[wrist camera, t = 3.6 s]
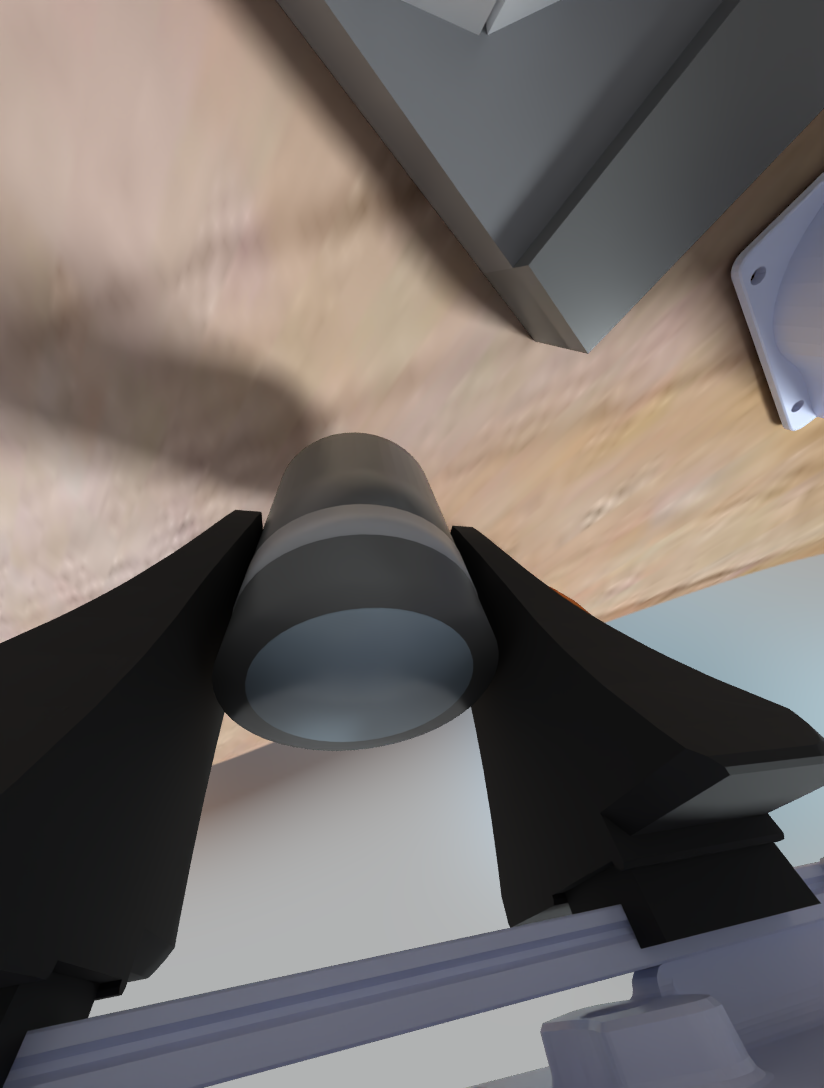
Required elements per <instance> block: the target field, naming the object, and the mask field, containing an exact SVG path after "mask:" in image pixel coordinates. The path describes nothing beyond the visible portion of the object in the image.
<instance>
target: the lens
mask: <svg viewBox="0 0 824 1088" xmlns="http://www.w3.org/2000/svg"><path fill="white" fill-rule="evenodd" d="M498 657H499V650H498V645H497V640H496V638H495V635H494V633H493V631H492V628H491V626H490V624H489V621H488V619H487V617H486V615H485V612H484V610H483V608H482V605H481V603H480V601H479V598H478V594H477V591H476V589H475V587H474V584H473V582H472V580H471V577H470V575H469V573H468V570H467V568H466V566H465V564H464V561H463V559H462V557H461V554H460V552H459V551H458V549H457V547H456V545H455V543H454V540H453V538H452V536H451V534H450V531H449V529H448V527H447V524H446V522H445V520H444V517H443V515H442V513H441V510H440V508H439V506H438V503H437V501H436V499H435V497H434V494H433V492H432V490H431V487H430V485H429V483H428V480H427V478H426V476H425V473H424V471H423V470H422V468H421V467H420V465H419V464H418V462H417V461H416V460H415V459H414V458H413V456H411V455H410V454H409V453H408V452H407V451H406V450H405V449H403V448H402V447H400V446H399V445H397V444H395V443H393V442H392V441H390V440H388V439H385V438H382V437H379V436H376V435H371V434H366V433H342V434H336V435H332V436H328V437H325V438H322V439H320V440H318V441H316V442H314V443H312V444H310V445H309V446H307V447H306V448H304V449H303V450H302V451H301V452H300V453H299V454H297V455H296V456H295V457H294V459H293V460H292V461H291V462H290V464H289V465H288V467H287V469H286V470H285V472H284V474H283V477H282V479H281V482H280V485H279V488H278V490H277V493H276V496H275V498H274V501H273V504H272V507H271V509H270V512H269V515H268V518H267V520H266V523H265V526H264V529H263V531H262V534H261V537H260V540H259V542H258V545H257V548H256V551H255V553H254V556H253V558H252V560H251V562H250V564H249V567H248V570H247V572H246V575H245V578H244V580H243V583H242V586H241V588H240V591H239V594H238V597H237V599H236V602H235V605H234V607H233V613H232V616H231V619H230V622H229V625H228V627H227V630H226V633H225V636H224V638H223V641H222V644H221V647H220V649H219V652H218V655H217V658H216V660H215V663H214V666H213V673H212V684H213V691H214V693H215V696H216V699H217V701H218V703H219V704H220V706H221V707H222V709H223V711H224V712H225V713H226V714H227V715H228V716H229V717H230V718H231V719H232V720H233V721H235V722H236V723H237V724H239V725H240V726H241V727H243V728H244V729H246V730H248V731H250V732H251V733H253V734H255V735H257V736H260V737H262V738H264V739H267V740H270V741H273V742H276V743H279V744H283V745H288V746H292V747H297V748H305V749H312V750H328V751H330V750H331V751H342V750H358V749H367V748H373V747H380V746H385V745H389V744H394V743H398V742H401V741H405V740H408V739H411V738H414V737H417V736H419V735H422V734H425V733H427V732H430V731H432V730H434V729H436V728H438V727H440V726H442V725H443V724H446V723H448V722H449V721H451V720H453V719H454V718H456V717H457V716H459V715H460V714H462V713H463V712H464V711H465V710H467V709H468V708H469V707H470V706H472V705H473V704H474V703H475V702H476V701H477V700H478V699H479V698H480V697H481V695H482V694H483V693H484V692H485V691H486V689H487V688H488V686H489V685H490V683H491V681H492V679H493V677H494V675H495V673H496V669H497V665H498Z"/></svg>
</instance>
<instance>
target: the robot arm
mask: <svg viewBox="0 0 824 1088" xmlns="http://www.w3.org/2000/svg"><path fill="white" fill-rule="evenodd" d="M754 272H755V275H754V278H753V279H752V281H751V277H752V275H753V273H754ZM731 278H732V281H733V284H734V287H735V290H736V293H737V296H738V299H739V301H740V304H741V307H742V310H743V313H744V316H745V319H746V322H747V324H748V327H749V330H750V333H751V336H752V339H753V342H754V345H755V348H756V350H757V353H758V356H759V359H760V362H761V365H762V368H763V371H764V373H765V376H766V379H767V382H768V385H769V388H770V391H771V394H772V396H773V399H774V402H775V405H776V408H777V411H778V414H779V417H780V419H781V422H782V425H783V427H784V428H785V429H788V430H792V431H795V430H798V429H800V428H802V427H804V426H805V425H806V424H808V423H809V422H810V421H812V420H813V419H814V418H816V417H821V418H824V172H823V173H822V174H821V175H820V176H819V177H818V178H817V179H816V180H815V181H814V182H813V183H812V184H811V185H810V186H809V187H808V188H807V189H806V190H805V191H804V192H803V193H802V194H800V195H799V196H798V197H797V198H796V199H795V200H794V201H793V202H792V203H791V204H790V205H789V206H788V207H787V208H786V209H785V210H784V211H783V212H782V213H781V214H780V215H779V216H778V217H777V218H776V219H775V220H774V221H773V222H772V223H771V224H770V225H769V226H768V227H767V228H766V229H765V230H764V231H763V232H762V233H761V234H760V235H759V236H758V237H757V238H756V239H754V240H753V241H752V242H751V243H750V244H749V245H748V246H747V247H746V248H745V249H744V250H743V251H742V252H741V253H740V255H739V256H738V257H737V258H736V260H735V262H734V264H733V266H732V270H731ZM262 531H263V525H262V513H261V512H256V511H242V510H235V511H233V512H231V513H230V514H228V515H227V516H226V517H224V518H223V519H221V520H220V521H218V522H217V523H216V524H214V525H213V526H212V527H210V528H209V529H207V530H206V531H205V532H203V533H202V534H200V535H199V536H197V537H196V538H194V539H193V540H192V541H190V542H189V543H187V544H186V545H184V546H183V547H181V548H180V549H178V550H177V551H175V552H174V553H172V554H171V555H169V556H168V557H166V558H164V559H163V560H161V561H160V562H158V563H156V564H155V565H153V566H151V567H150V568H148V569H147V570H145V571H143V572H142V573H140V574H139V575H137V576H135V577H134V578H132V579H130V580H129V581H127V582H125V583H123V584H122V585H120V586H118V587H116V588H114V589H113V590H111V591H109V592H107V593H105V594H103V595H101V596H99V597H98V598H96V599H94V600H92V601H90V602H88V603H86V604H84V605H82V606H80V607H78V608H76V609H74V610H72V611H70V612H68V613H66V614H64V615H62V616H60V617H58V618H56V619H53V620H51V621H49V622H47V623H45V624H42V625H40V626H38V627H36V628H33V629H31V630H29V631H27V632H25V633H22V634H20V635H18V636H16V637H14V638H11V639H9V640H7V641H5V642H2V643H0V1088H204V1087H208V1086H212V1085H215V1084H219V1083H223V1082H227V1081H230V1080H233V1079H238V1078H241V1077H245V1076H248V1075H252V1074H256V1073H259V1072H264V1071H267V1070H271V1069H275V1068H278V1067H282V1066H286V1065H289V1064H293V1063H297V1062H301V1061H304V1060H307V1059H312V1058H315V1057H319V1056H323V1055H327V1054H330V1053H334V1052H337V1051H341V1050H345V1049H349V1048H352V1047H356V1046H360V1045H363V1044H367V1043H371V1042H375V1041H379V1040H382V1039H386V1038H390V1037H393V1036H397V1035H401V1034H405V1033H408V1032H412V1031H416V1030H419V1029H423V1028H427V1027H431V1026H434V1025H438V1024H441V1023H445V1022H449V1021H453V1020H456V1019H460V1018H464V1017H467V1016H471V1015H475V1014H479V1013H482V1012H486V1011H490V1010H494V1009H497V1008H501V1007H504V1006H508V1005H512V1004H516V1003H519V1002H523V1001H527V1000H531V999H534V998H538V997H541V996H545V995H549V994H553V993H556V992H560V991H564V990H568V989H571V988H575V987H579V986H583V985H586V984H590V983H594V982H597V981H601V980H605V979H609V978H612V977H616V976H620V975H623V974H627V973H631V972H634V971H635V972H634V975H633V979H632V986H633V996H632V997H631V999H630V1000H626V1001H619V1002H612V1003H606V1004H600V1005H595V1006H591V1007H587V1008H583V1009H579V1010H576V1011H572V1012H570V1013H567V1014H565V1015H562V1016H560V1017H557V1018H555V1019H552V1020H550V1021H547V1022H545V1023H543V1024H542V1028H541V1036H542V1040H543V1044H544V1048H545V1052H546V1055H547V1059H548V1063H549V1066H548V1067H545V1068H541V1069H537V1070H533V1071H529V1072H525V1073H521V1074H517V1075H513V1076H510V1077H506V1078H502V1079H498V1080H494V1081H490V1082H487V1083H482V1084H479V1085H475V1086H471V1087H467V1088H824V857H823V858H821V859H820V862H815V863H811V864H806V865H802V866H797V867H792V865H791V864H790V863H789V861H788V860H787V859H786V857H785V856H784V855H783V854H782V852H781V851H780V850H779V848H778V847H777V846H776V845H775V843H774V842H778V841H781V840H783V839H784V833H783V832H782V830H781V829H780V828H779V827H778V825H777V824H776V823H775V822H774V821H773V819H772V818H771V817H770V816H769V814H768V813H769V812H771V811H773V810H775V809H777V808H779V807H781V806H783V805H785V804H788V803H790V802H792V801H794V800H796V799H798V798H800V797H802V796H804V795H806V794H808V793H811V792H812V791H814V790H816V789H818V788H820V787H822V786H824V738H823V737H822V736H821V735H820V734H819V733H818V732H816V731H815V730H814V729H813V728H812V727H811V726H810V725H809V724H808V723H807V722H805V721H804V720H803V719H802V718H800V717H799V716H798V715H797V714H795V713H794V712H793V711H791V710H790V709H788V708H786V707H783V706H781V705H778V704H776V703H773V702H771V701H768V700H766V699H764V698H761V697H759V696H756V695H754V694H752V693H749V692H747V691H744V690H742V689H739V688H737V687H734V686H732V685H729V684H727V683H725V682H722V681H720V680H717V679H715V678H713V677H710V676H708V675H706V674H704V673H701V672H700V671H697V670H695V669H693V668H691V667H689V666H687V665H685V664H682V663H680V662H678V661H676V660H674V659H671V658H669V657H667V656H665V655H663V654H661V653H659V652H657V651H655V650H653V649H651V648H649V647H647V646H645V645H644V644H642V643H640V642H638V641H636V640H634V639H632V638H631V637H629V636H627V635H625V634H623V633H621V632H620V631H618V630H616V629H614V628H612V627H611V626H609V625H607V624H605V623H604V622H602V621H600V620H599V619H597V618H595V617H594V616H592V615H591V614H589V613H587V612H586V611H584V610H583V609H581V608H579V607H578V606H576V605H575V604H573V603H572V602H570V601H569V600H567V599H566V598H564V597H563V596H561V595H560V594H558V593H557V592H556V591H554V590H553V589H551V588H550V587H549V586H547V585H546V584H545V583H543V582H542V581H540V580H539V579H538V578H536V577H535V576H534V575H533V574H531V573H530V572H529V571H527V570H526V569H525V568H524V567H522V566H521V565H520V564H519V563H517V562H516V561H515V560H514V559H512V558H511V557H510V556H509V555H507V554H506V553H505V552H504V551H503V550H501V549H500V548H499V547H498V546H497V545H495V544H494V543H493V542H492V541H490V540H489V539H488V538H487V537H485V536H484V535H483V534H482V533H480V532H479V531H477V530H476V529H474V528H473V527H463V526H452V529H451V533H450V534H451V536H452V538H453V540H454V543H455V545H456V547H457V549H458V551H459V552H460V554H461V557H462V559H463V561H464V564H465V566H466V568H467V570H468V573H469V575H470V577H471V580H472V582H473V584H474V587H475V589H476V591H477V594H478V598H479V601H480V603H481V605H482V608H483V610H484V612H485V615H486V617H487V619H488V621H489V624H490V626H491V628H492V631H493V633H494V635H495V638H496V640H497V645H498V650H499V657H498V665H497V669H496V673H495V675H494V677H493V679H492V681H491V683H490V685H489V686H488V688H487V689H486V691H485V692H484V693H483V694H482V695H481V697H480V698H479V699H478V700H477V701H476V702H475V703H474V704H473V705H472V706H471V708H472V714H473V718H474V723H475V728H476V732H477V738H478V743H479V749H480V754H481V759H482V765H483V769H484V776H485V782H486V788H487V794H488V801H489V807H490V813H491V819H492V826H493V834H494V840H495V848H496V856H497V863H498V871H499V879H500V887H501V895H502V900H503V904H504V908H505V911H506V916H507V919H508V923H509V926H510V928H507V929H502V930H498V931H493V932H488V933H484V934H479V935H474V936H470V937H465V938H460V939H456V940H451V941H446V942H442V943H437V944H433V945H428V946H423V947H419V948H414V949H409V950H404V951H400V952H395V953H390V954H386V955H381V956H376V957H372V958H367V959H362V960H358V961H353V962H348V963H343V964H339V965H334V966H329V967H325V968H321V969H316V970H311V971H307V972H302V973H297V974H292V975H288V976H283V977H278V978H273V979H269V980H264V981H259V982H255V983H250V984H245V985H241V986H236V987H231V988H227V989H222V990H218V991H213V992H208V993H203V994H199V995H194V996H189V997H185V998H180V999H176V1000H171V1001H166V1002H161V1003H157V1004H152V1005H148V1006H143V1007H138V1008H133V1009H129V1010H124V1011H119V1012H115V1013H110V1014H106V1015H101V1016H96V1017H92V1018H88V1016H89V1014H90V1011H91V1008H92V1005H93V1003H94V1001H95V1000H100V999H104V998H110V997H114V996H119V995H122V993H123V992H124V989H125V987H126V985H127V982H131V981H136V980H141V979H146V978H148V977H150V976H151V975H152V974H153V973H154V972H155V971H156V970H157V968H158V967H159V966H160V965H161V964H162V963H163V962H164V961H165V959H166V958H167V957H168V955H169V954H170V953H171V952H172V950H173V949H174V947H175V942H176V937H177V932H178V926H179V920H180V915H181V910H182V905H183V900H184V895H185V889H186V885H187V879H188V874H189V869H190V864H191V859H192V854H193V849H194V845H195V840H196V835H197V830H198V825H199V821H200V816H201V811H202V807H203V802H204V797H205V792H206V789H207V784H208V779H209V775H210V771H211V767H212V762H213V758H214V753H215V749H216V745H217V741H218V737H219V733H220V728H221V724H222V720H223V716H224V711H223V709H222V707H221V706H220V704H219V703H218V701H217V699H216V696H215V693H214V691H213V684H212V673H213V666H214V663H215V660H216V658H217V655H218V652H219V649H220V647H221V644H222V641H223V638H224V636H225V633H226V630H227V627H228V625H229V622H230V619H231V616H232V613H233V607H234V605H235V602H236V599H237V597H238V594H239V591H240V588H241V586H242V583H243V580H244V578H245V575H246V572H247V570H248V567H249V564H250V562H251V560H252V558H253V556H254V553H255V551H256V548H257V545H258V542H259V540H260V537H261V534H262Z"/></svg>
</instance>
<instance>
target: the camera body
mask: <svg viewBox="0 0 824 1088" xmlns="http://www.w3.org/2000/svg"><path fill="white" fill-rule="evenodd" d="M276 1H277V2H278V4H279V5H280V6H281V7H282V9H283V10H284V11H285V13H286V14H287V15H288V17H289V18H290V19H291V21H292V22H293V23H294V25H295V26H296V27H297V29H298V30H299V31H300V32H301V34H302V35H303V36H304V38H305V39H306V40H307V42H308V43H309V44H310V46H311V47H312V48H313V50H314V51H315V52H316V54H317V55H318V56H319V58H320V59H321V60H322V61H323V63H324V64H325V65H326V67H327V68H328V69H329V71H330V72H331V73H332V75H333V76H334V77H335V79H336V80H337V81H338V83H339V84H340V85H341V86H342V88H343V89H344V90H345V92H346V93H347V94H348V96H349V97H350V98H351V100H352V101H353V102H354V104H355V105H356V106H357V108H358V109H359V110H360V112H361V113H362V114H363V115H364V117H365V118H366V119H367V121H368V122H369V123H370V125H371V126H372V127H373V129H374V130H375V131H376V133H377V134H378V135H379V137H380V138H381V139H382V140H383V142H384V143H385V144H386V146H387V147H388V148H389V150H390V151H391V152H392V154H393V155H394V156H395V158H396V159H397V160H398V162H399V163H400V164H401V165H402V167H403V168H404V169H405V171H406V172H407V173H408V175H409V176H410V177H411V179H412V180H413V181H414V183H415V184H416V185H417V187H418V188H419V189H420V191H421V192H422V193H423V194H424V196H425V197H426V198H427V200H428V201H429V202H430V204H431V205H432V206H433V208H434V209H435V210H436V212H437V213H438V214H439V216H440V217H441V218H442V219H443V221H444V222H445V223H446V225H447V226H448V227H449V229H450V230H451V231H452V233H453V234H454V235H455V237H456V238H457V239H458V241H459V242H460V243H461V245H462V246H463V247H464V248H465V250H466V251H467V252H468V254H469V255H470V256H471V258H472V259H473V260H474V262H475V263H476V264H477V266H478V267H479V268H480V270H481V271H482V272H483V273H484V275H485V276H486V277H487V279H488V280H489V281H490V283H491V284H492V285H493V287H494V288H495V289H496V291H497V292H498V293H499V295H500V296H501V297H502V298H503V300H504V301H505V302H506V304H507V305H508V306H509V308H510V309H511V310H512V312H513V313H514V314H515V316H516V317H517V318H518V320H519V321H520V322H521V324H522V325H523V326H524V327H525V329H526V330H527V331H528V333H529V334H530V335H531V337H532V338H533V339H534V341H536V342H540V343H544V344H549V345H553V346H557V347H562V348H566V349H570V350H575V351H579V352H583V353H587V354H588V353H589V352H590V351H591V350H592V349H593V348H594V347H595V346H596V345H597V344H598V343H599V342H600V341H601V340H602V339H603V338H604V337H605V336H606V335H607V334H608V333H609V331H610V330H611V329H612V328H613V327H614V326H615V325H616V324H617V323H618V322H619V321H620V320H621V319H622V318H623V317H624V316H625V315H626V314H627V313H628V312H629V311H630V310H631V309H632V308H633V307H634V305H635V304H636V303H637V302H638V301H639V300H640V299H641V298H642V297H643V296H644V295H645V294H646V293H647V292H648V291H649V290H650V289H651V288H652V287H653V286H654V285H655V284H656V283H657V282H658V281H659V279H660V278H661V277H662V276H663V275H664V274H665V273H666V272H667V271H668V270H669V269H670V268H671V267H672V266H673V265H674V264H675V263H676V262H677V261H678V260H679V259H680V258H681V257H682V256H683V255H684V253H685V252H686V251H687V250H688V249H689V248H690V247H691V246H692V245H693V244H694V243H695V242H696V241H697V240H698V239H699V238H700V237H701V236H702V235H703V234H704V233H705V232H706V231H707V230H708V228H709V227H710V226H711V225H712V224H713V223H714V222H715V221H716V220H717V219H718V218H719V217H720V216H721V215H722V214H723V213H724V212H725V211H726V210H727V209H728V208H729V207H730V206H731V205H732V204H733V202H734V201H735V200H736V199H737V198H738V197H739V196H740V195H741V194H742V193H743V192H744V191H745V190H746V189H747V188H748V187H749V186H750V185H751V184H752V183H753V182H754V181H755V180H756V179H757V178H758V176H759V175H760V174H761V173H762V172H763V171H764V170H765V169H766V168H767V167H768V166H769V165H770V164H771V163H772V162H773V161H774V160H775V159H776V158H777V157H778V156H779V155H780V154H781V153H782V152H783V150H784V149H785V148H786V147H787V146H788V145H789V144H790V143H791V142H792V141H793V140H794V139H795V138H796V137H797V136H798V135H799V134H800V133H801V132H802V131H803V130H804V129H805V128H806V127H807V126H808V124H809V123H810V122H811V121H812V120H813V119H814V118H815V117H816V116H817V115H818V114H819V113H820V112H821V111H822V110H823V109H824V0H276Z"/></svg>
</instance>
